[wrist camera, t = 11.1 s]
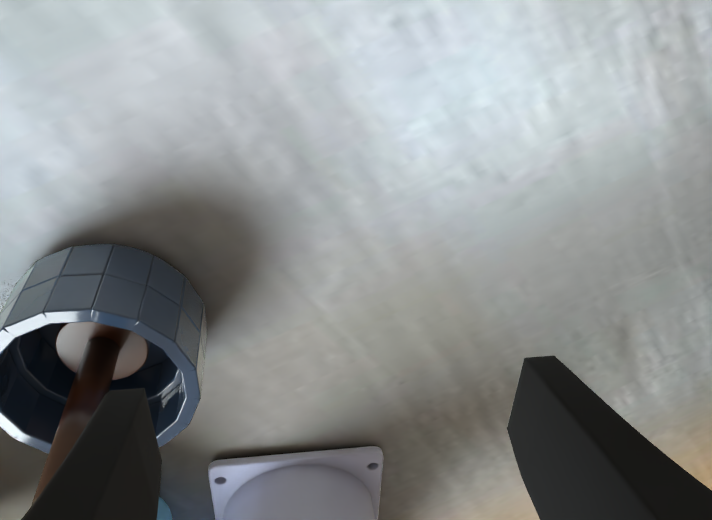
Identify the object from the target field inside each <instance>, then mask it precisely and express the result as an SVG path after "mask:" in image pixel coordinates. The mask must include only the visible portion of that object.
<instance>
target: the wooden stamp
mask: <svg viewBox="0 0 712 520" xmlns="http://www.w3.org/2000/svg"><path fill="white" fill-rule="evenodd" d="M150 345H151V342H150V341H148V340H146V339H145V338H143V337H141V336H140V335H138V334H136V333H134V332H133V331H130V330H126V329H122V328H117V327H113V326H109V325H104V324H100V323H96V322H76V323H61V326H60V328H59V331H58V333H57V336H56V339H55V348H56V352H57V354H58V357H59V358H60V360H61V361H62V362H63V364H64V365H65V366H67V367H68V368H69V369H70V370H72V371H73V372H75V373H76V375H75V378H74V381H73V384H72V387H71V390H70V393H69V395H68V398H67V401H66V404H65V407H64V410H63V413H62V416H61V419H60V422H59V425H58V428H57V431H56V434H55V437H54V440H53V443H52V446H51V449H50V452H49V455H48V458H47V460H46V463H45V466H44V469H43V472H42V475H41V478H40V481H39V484H38V487H37V490H36V493H35V496H34V499H33V502H32V505H33V504H34V502H35V501H36V500H37V498H38V497H39V495H40V494H41V492H42V491H43V490H44V488H45V487H46V485H47V484H48V482H49V481H50V479H51V478H52V477H53V475H54V474H55V472H56V471H57V469H58V468H59V466H60V465H61V464H62V462H63V461H64V459H65V458H66V456H67V455H68V453H69V452H70V450H71V449H72V447H73V446H74V444H75V442H76V441H77V439H78V438H79V436H80V435H81V433H82V432H83V430H84V428H85V427H86V425H87V424H88V422H89V420H90V419H91V417H92V415H93V414H94V412H95V410H96V409H97V407H98V405H99V404H100V402H101V400H102V399H103V397H104V395H106V394H107V393H108V392H109V389H110V385H111V382H112V380H117V379H122V378H125V377H128V376H130V375H132V374H134V373H135V372H137V371H138V370H139V369H140V368H141V367H142V366H143V365H144V364H145V362H146V360H147V358H148V354H149V350H150Z"/></svg>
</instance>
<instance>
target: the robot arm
mask: <svg viewBox="0 0 712 520" xmlns="http://www.w3.org/2000/svg"><path fill="white" fill-rule="evenodd" d="M507 430H508V434H509V437H510V440H511V444H512V447H513V451H514V454H515V457H516V461H517V464H518V467H519V470H520V473H521V476H522V479H523V481H524V484H525V486H526V488H527V491H528V493H529V495H530V497H531V500H532V502H533V504H534V507H535V509H536V511H537V513H538V516H539V518H540V520H712V491H711V490H710V489H709V488H707V487H706V486H705V485H703V484H702V483H701V482H699V481H698V480H697V479H695V478H694V477H693V476H692V475H690V474H689V473H688V472H687V471H685V470H684V469H683V468H682V467H680V466H679V465H678V464H677V463H675V462H674V461H673V460H671V459H670V458H669V457H668V456H666V455H665V454H664V453H663V452H662V451H660V450H659V449H658V448H657V447H656V446H654V445H653V444H652V443H651V442H650V441H648V440H647V439H646V438H645V437H644V436H643V435H641V434H640V433H639V432H638V431H637V430H636V429H634V428H633V427H632V426H631V425H630V424H629V423H628V422H626V421H625V420H624V419H623V418H622V417H621V416H620V415H619V414H617V413H616V412H615V411H614V410H613V409H612V408H611V407H610V406H609V405H607V404H606V403H605V402H604V401H603V400H602V399H601V398H600V397H599V396H598V395H597V394H595V393H594V392H593V391H592V390H591V389H590V388H589V387H588V386H587V385H586V384H585V383H583V382H582V381H581V380H580V379H579V378H578V377H577V376H576V375H575V374H574V373H573V372H572V371H570V370H569V369H568V368H567V367H566V366H565V365H564V364H563V363H562V362H561V361H559V360H558V359H557V358H556V357H555V356H544V357H531V358H524V362H523V366H522V370H521V374H520V378H519V382H518V386H517V390H516V394H515V398H514V402H513V406H512V411H511V415H510V419H509V423H508V427H507ZM383 459H384V457H383V452H382V449H381V448H379V447H377V446H368V447H357V448H346V449H335V450H323V451H312V452H301V453H290V454H279V455H267V456H256V457H245V458H234V459H222V460H216V461H214V462H212V463H211V464H210V465H209V469H208V476H209V482H210V489H211V495H212V501H213V508H214V514H215V520H378V513H379V502H380V492H381V481H382V470H383ZM161 464H162V460H161V455H160V451H159V447H158V443H157V439H156V434H155V430H154V426H153V422H152V417H151V413H150V409H149V405H148V401H147V396H146V392H145V388H136V389H123V390H111V391H109V392H108V393H107V394H106V395H104V397H103V399H102V400H101V402H100V404H99V405H98V407H97V409H96V410H95V412H94V414H93V415H92V417H91V419H90V420H89V422H88V424H87V425H86V427H85V428H84V430H83V432H82V433H81V435H80V436H79V438H78V439H77V441H76V442H75V444H74V446H73V447H72V449H71V450H70V452H69V453H68V455H67V456H66V458H65V459H64V461H63V462H62V464H61V465H60V466H59V468H58V469H57V471H56V472H55V474H54V475H53V477H52V478H51V479H50V481H49V482H48V484H47V485H46V487H45V488H44V490H43V491H42V492H41V494H40V495H39V497H38V498H37V500H36V501H35V502H34V504H33V505H32V506H31V508H30V509H29V510H28V512H27V513H26V514H25V516H24V517H23V518H22V519H21V520H156V519H157V513H158V502H159V491H160V478H161Z"/></svg>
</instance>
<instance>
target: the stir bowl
mask: <svg viewBox="0 0 712 520" xmlns="http://www.w3.org/2000/svg"><path fill="white" fill-rule="evenodd" d="M76 322H96V323H100V324H104V325H109V326H113V327H117V328H122V329H126V330H130V331H133V332H134V333H136V334H138V335H140V336H141V337H143V338H145V339H146V340H148V341H150V342H151V345H150V350H149V354H148V358H147V360H146V362H145V364H144V365H143V366H142V367H141V368H140V369H139V370H138V371H137V372H135V373H134V374H132V375H130V376H128V377H125V378H122V379H117V380H112V382H111V385H110V389H109V391H111V390H123V389H136V388H145V392H146V396H147V401H148V405H149V409H150V413H151V417H152V422H153V426H154V430H155V434H156V439H157V443H158V447H161V446H163V445H165V444H167V443H168V442H169V441H170V440H172V439H173V438H174V437H175V436H176V435H178V434H179V433H180V432H181V431H182V430H183V429H185V428H186V427H187V426H188V425H189V424H190V422H191V420H192V417H193V415H194V413H195V410H196V408H197V406H198V403H199V401H200V399H201V390H202V379H203V369H204V359H205V349H206V338H207V323H206V315H205V307H204V303H203V301H202V300H201V298H200V297H199V295H198V294H197V293H196V291H195V290H194V288H193V287H192V285H191V284H190V282H189V281H188V279H187V278H186V277H184V275H183V274H182V273H180V272H179V271H177V270H176V269H175V268H174V267H172V266H171V265H170V264H168V263H167V262H165V261H164V260H162V259H160V258H158V257H157V256H155V255H152V254H150V253H148V252H145V251H142V250H139V249H136V248H133V247H128V246H123V245H115V244H92V245H84V246H74V247H73V246H71V247H69V248H66V249H64V250H61V251H59V252H57V253H54V254H52V255H49V256H47V257H44V258H42V259H39V260H38V261H36V262H35V264H34V265H33V266H32V267H31V268H30V269H29V270H28V271H27V272H26V273H25V274H24V276H23V277H22V278H21V279H20V280H19V281H18V282H17V283H16V285H15V287H14V289H13V290H12V292H11V294H10V296H9V298H8V300H7V301H6V303H5V305H4V307H3V309H2V311H1V312H0V427H1V428H2V429H3V430H4V431H5V432H6V433H8V434H9V435H10V436H11V437H12V438H15V440H17V441H20V442H22V443H24V444H27V445H29V446H31V447H34V448H36V449H38V450H41V451H43V452H45V453H48V454H49V452H50V449H51V446H52V443H53V440H54V437H55V434H56V431H57V428H58V425H59V422H60V419H61V416H62V413H63V410H64V407H65V404H66V401H67V398H68V395H69V393H70V390H71V387H72V384H73V381H74V378H75V375H76V373H75V372H73V371H72V370H70V369H69V368H68V367H67V366H65V365H64V364H63V362H62V361H61V360H60V358H59V357H58V354H57V352H56V348H55V339H56V336H57V333H58V331H59V328H60V326H61V323H76Z"/></svg>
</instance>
